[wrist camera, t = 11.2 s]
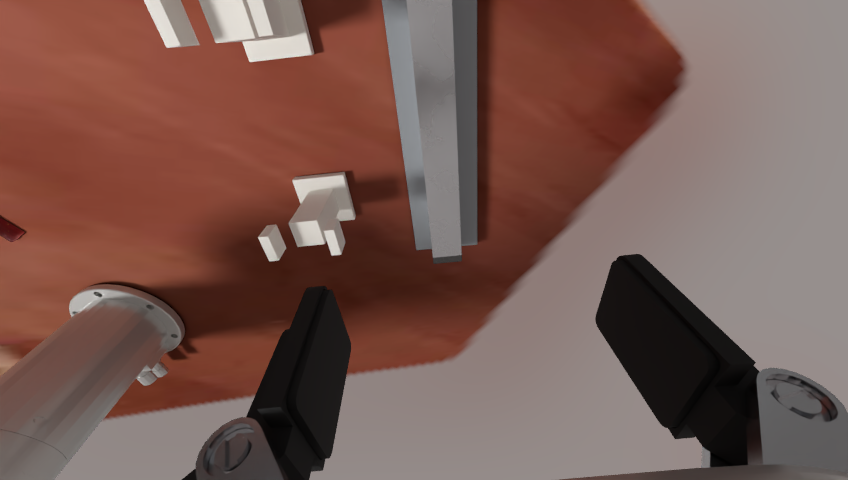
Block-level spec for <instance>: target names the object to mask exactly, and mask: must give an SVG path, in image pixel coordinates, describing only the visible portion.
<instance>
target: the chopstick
mask: <svg viewBox="0 0 848 480" xmlns="http://www.w3.org/2000/svg"><path fill="white" fill-rule="evenodd" d="M22 234H24V231H22V230H21V229H19V228H17V227H16V226H14V225H12V224H11V223H9V222H7V221H6V220H4V219H2V218H1V217H0V235H1V236H2V237H4V238H5V239H7V240H9V241H10V242H13V241H15V240H17V239H18V238H19V237H20V236H21V235H22Z"/></svg>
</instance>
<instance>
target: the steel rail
mask: <svg viewBox="0 0 848 480" xmlns="http://www.w3.org/2000/svg"><path fill="white" fill-rule="evenodd" d="M406 1H407V11H408V21H409V30H410V40H411V50H412V59H413V69H414V79H415V88H416V98H417V108H418V118H419V127H420V137H421V147H422V156H423V166H424V176H425V185H426V195H427V205H428V214H429V224H430V234H431V243H432V253H433V263H434V264H436V263H447V262H458V261H462V254H461V228H460V201H459V175H458V148H457V122H456V95H455V69H454V42H453V16H452V0H406Z"/></svg>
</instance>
